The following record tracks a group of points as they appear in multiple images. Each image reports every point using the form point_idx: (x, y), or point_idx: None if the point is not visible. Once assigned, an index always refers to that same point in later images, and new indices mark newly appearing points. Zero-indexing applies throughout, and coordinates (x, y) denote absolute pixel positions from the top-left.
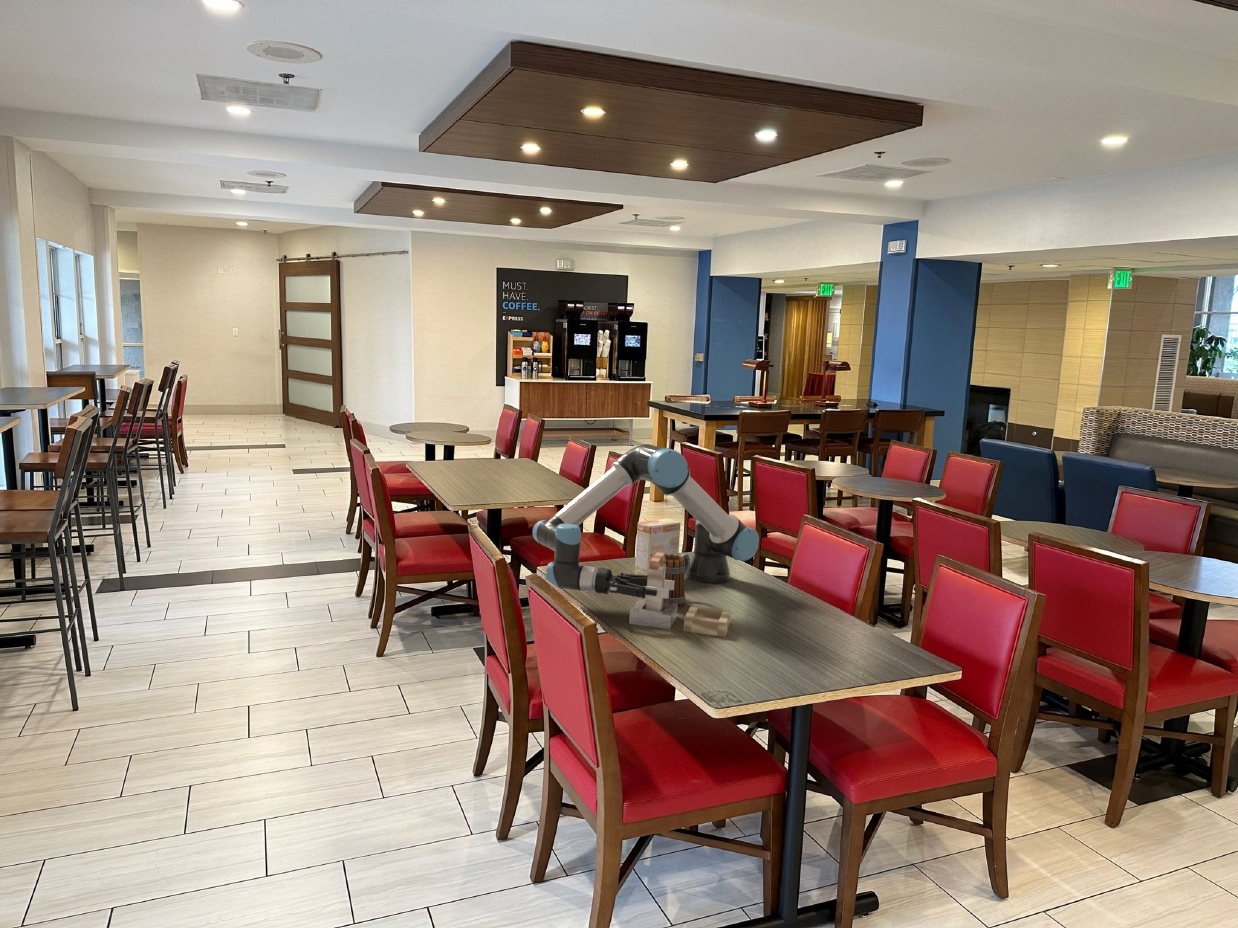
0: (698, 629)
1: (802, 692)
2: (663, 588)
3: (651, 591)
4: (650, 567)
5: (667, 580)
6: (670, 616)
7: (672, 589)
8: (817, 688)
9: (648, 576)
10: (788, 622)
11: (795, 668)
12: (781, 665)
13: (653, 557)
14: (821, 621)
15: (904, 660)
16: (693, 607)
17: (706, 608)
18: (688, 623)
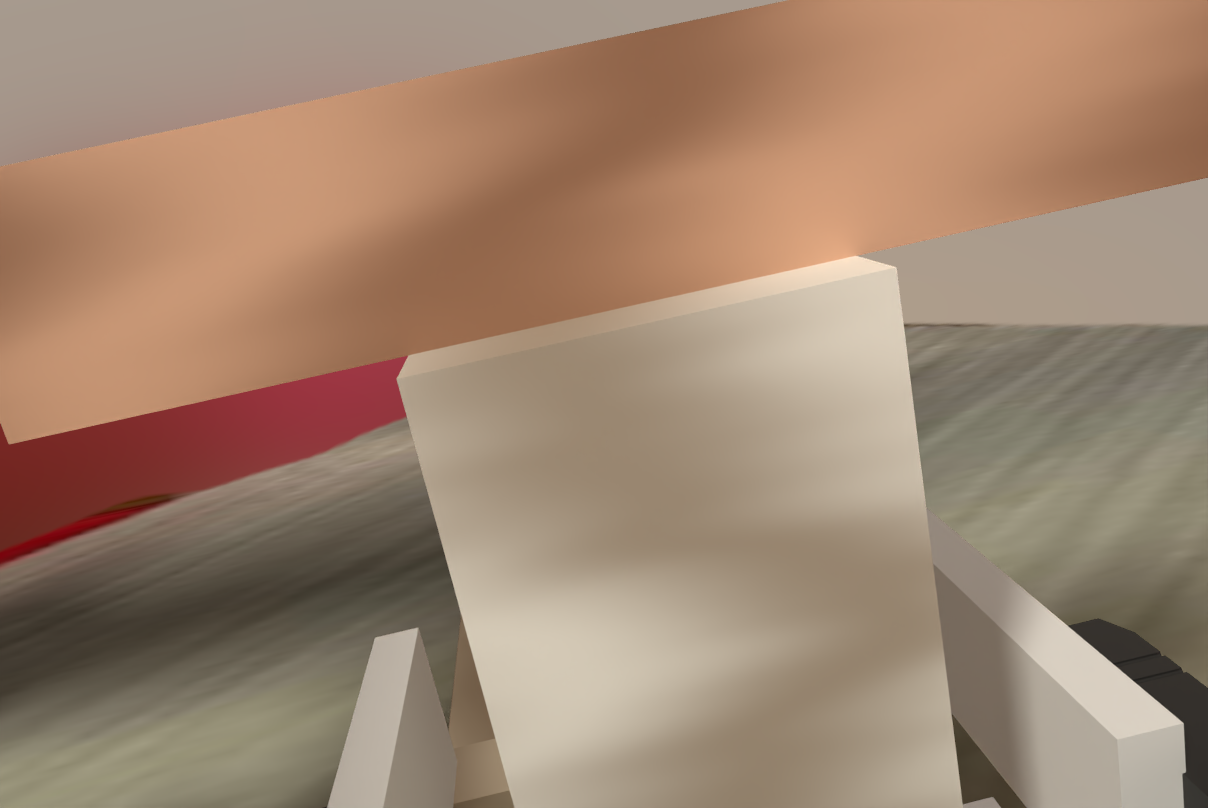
0: None
1: (1192, 328)
2: (950, 548)
3: (1180, 682)
4: (1195, 126)
5: (391, 697)
6: (994, 806)
7: (455, 762)
8: (1098, 332)
9: (926, 593)
10: (336, 558)
11: (972, 391)
12: (990, 409)
13: (756, 10)
14: (282, 515)
15: None
16: (495, 769)
17: (474, 694)
18: None
